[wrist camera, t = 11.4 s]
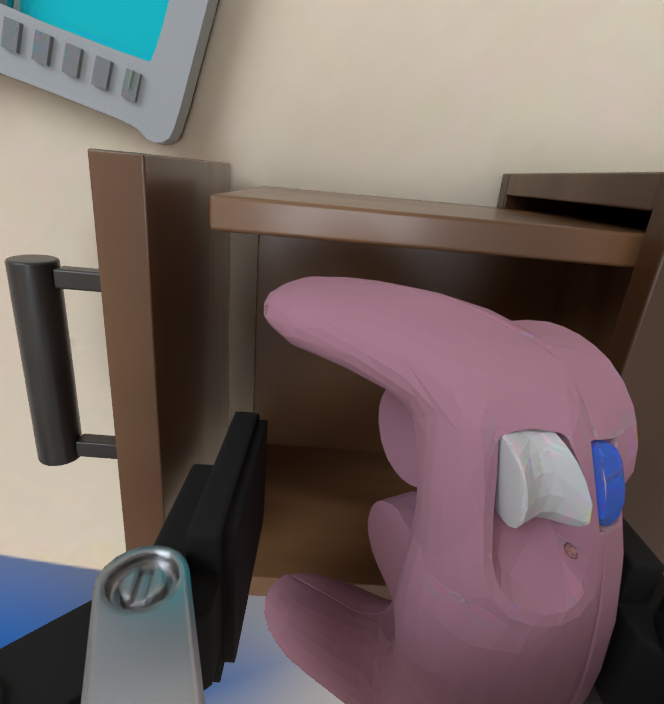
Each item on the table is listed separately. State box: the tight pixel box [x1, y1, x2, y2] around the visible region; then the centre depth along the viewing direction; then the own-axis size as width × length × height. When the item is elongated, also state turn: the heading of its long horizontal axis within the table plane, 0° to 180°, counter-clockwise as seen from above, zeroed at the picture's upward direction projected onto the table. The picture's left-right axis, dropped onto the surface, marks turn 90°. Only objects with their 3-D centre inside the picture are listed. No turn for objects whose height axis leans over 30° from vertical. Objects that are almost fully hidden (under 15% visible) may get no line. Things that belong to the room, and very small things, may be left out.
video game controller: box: [264, 276, 638, 704], centre depth 9 cm, size 10×5×7 cm, turn 177°
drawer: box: [5, 149, 647, 600], centre depth 16 cm, size 20×13×9 cm
